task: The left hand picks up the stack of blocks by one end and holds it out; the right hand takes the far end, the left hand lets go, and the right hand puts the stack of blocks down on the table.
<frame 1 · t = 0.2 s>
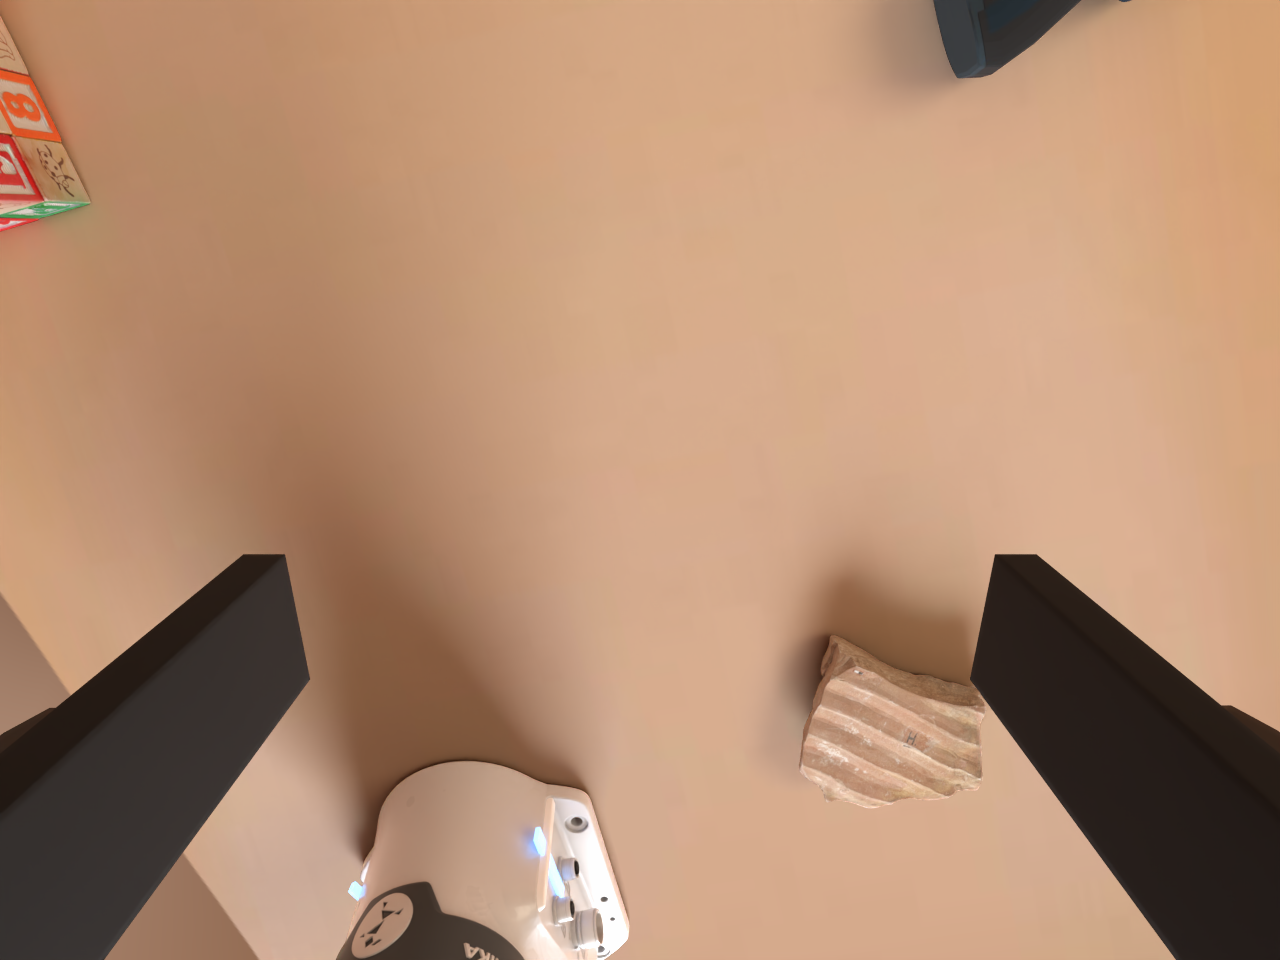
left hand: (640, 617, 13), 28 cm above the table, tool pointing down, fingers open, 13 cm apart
stone: (882, 707, 47), on the table
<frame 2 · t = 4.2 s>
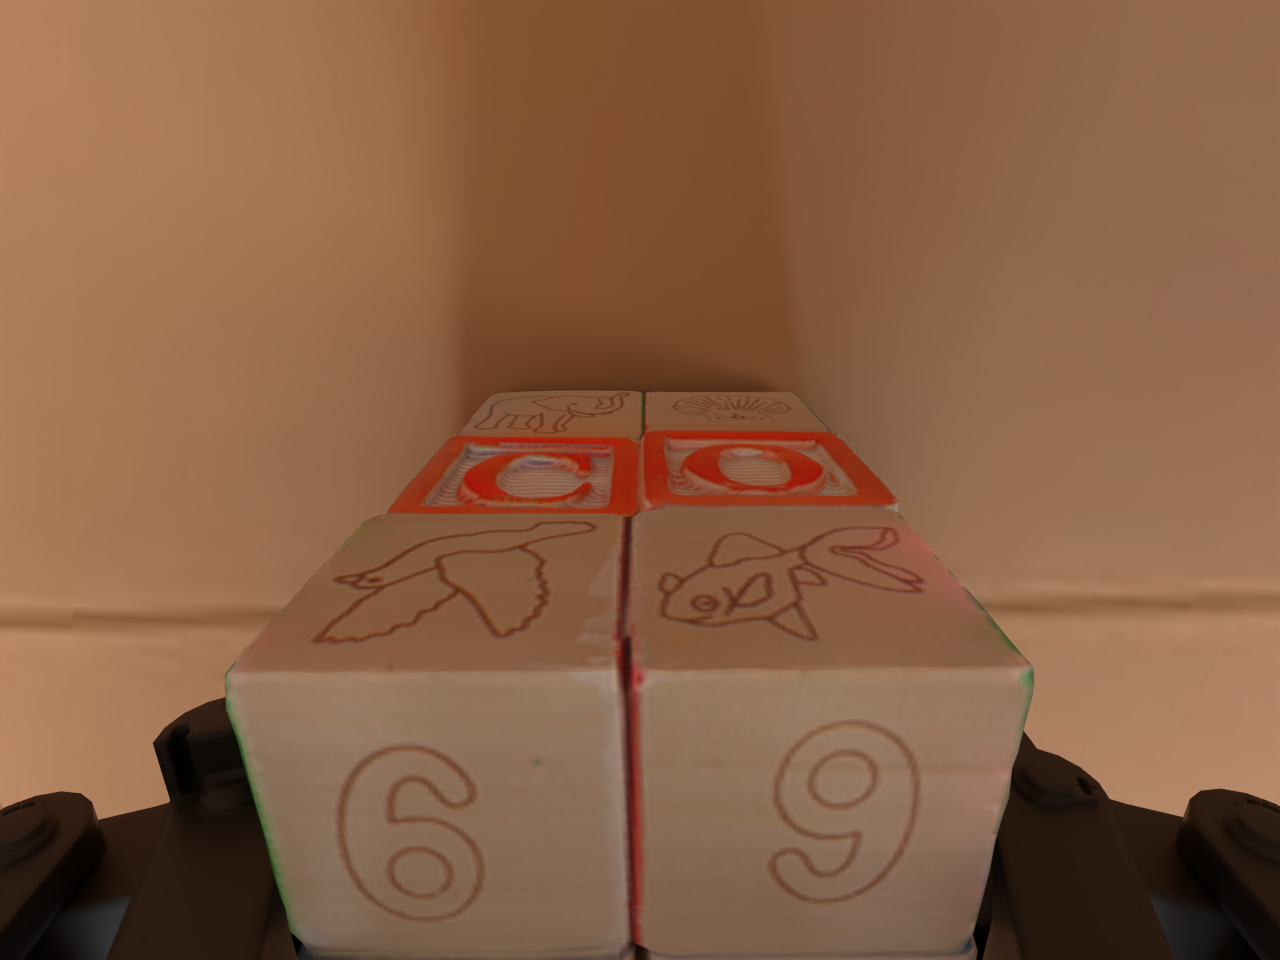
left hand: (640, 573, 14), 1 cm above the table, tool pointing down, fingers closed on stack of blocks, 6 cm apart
stack of blocks: (639, 798, 17), on the table, touching left hand
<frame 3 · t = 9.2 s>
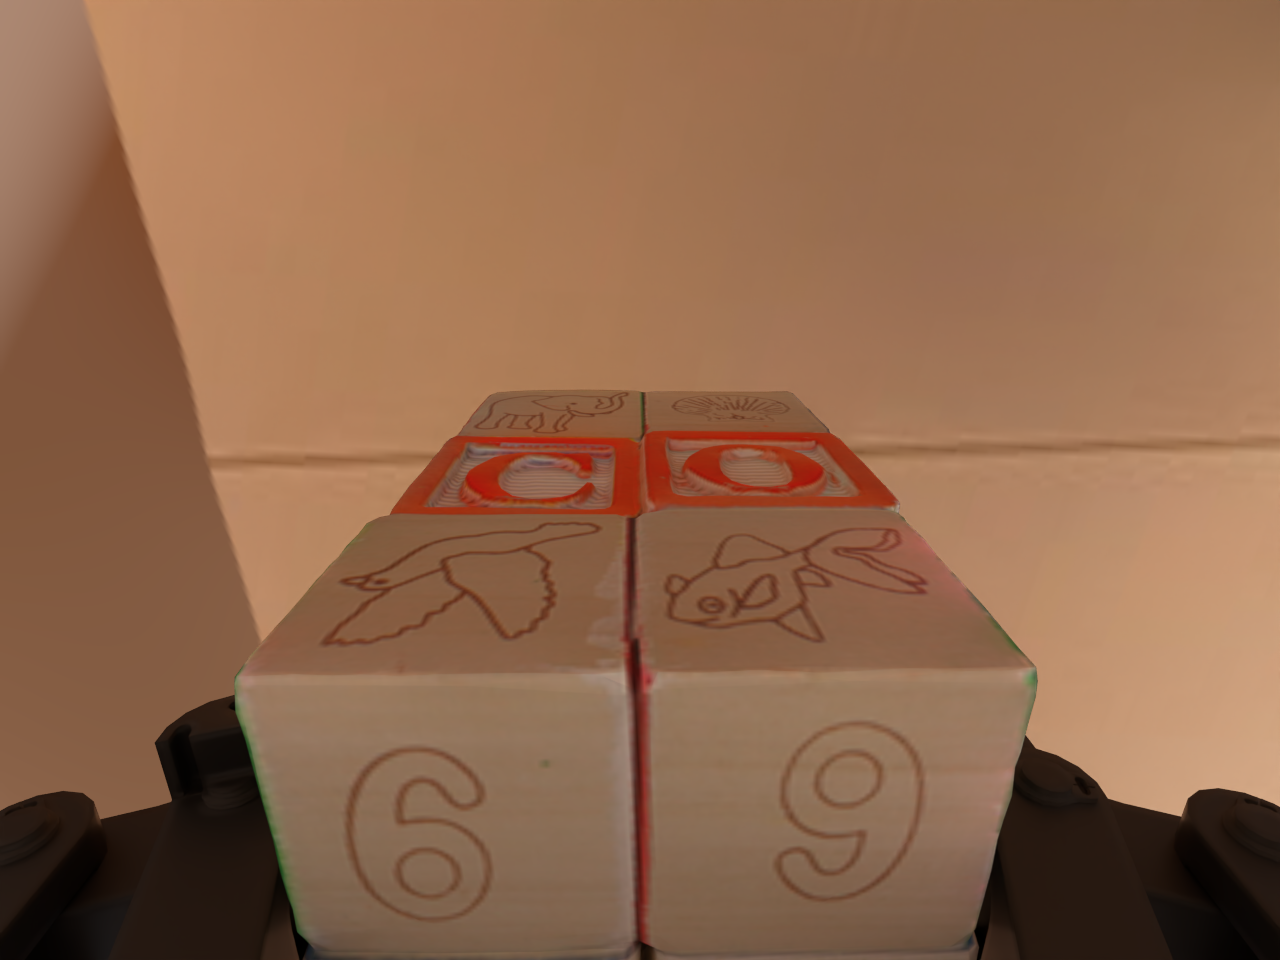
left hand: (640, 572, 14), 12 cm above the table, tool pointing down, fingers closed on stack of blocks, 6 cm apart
stack of blocks: (636, 796, 17), point 12 cm above the table, touching left hand, right hand
when the left hand's fingers open (12 cm above the table, at t = 10.1 s): stack of blocks stays where it is, held by the right hand.
when the right hand's fingers open (9 cm above the table, at t = 16.6 s): stack of blocks stays where it is, on the table.
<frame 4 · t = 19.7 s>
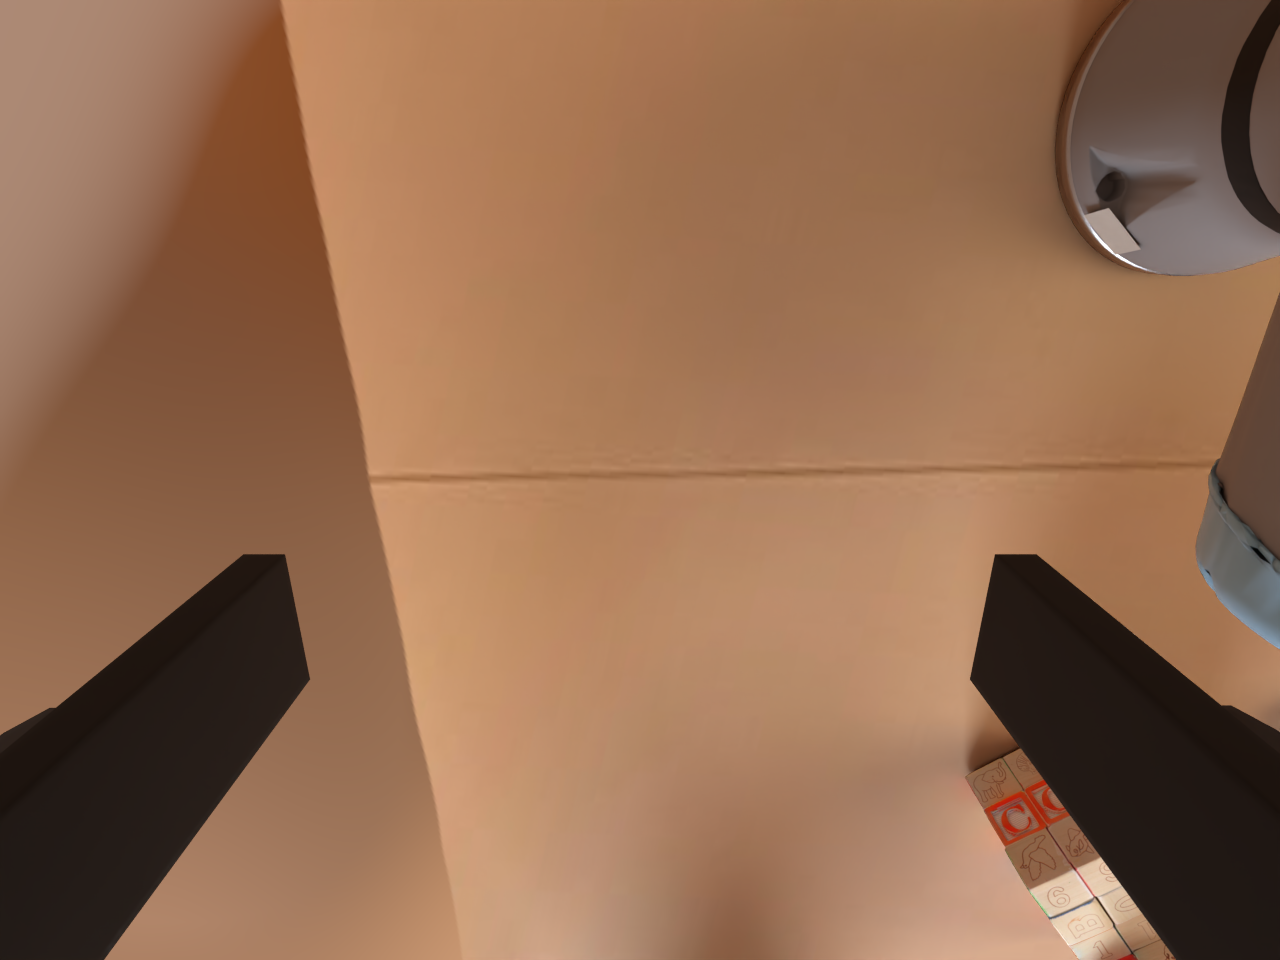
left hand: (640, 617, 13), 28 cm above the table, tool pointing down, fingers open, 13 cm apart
stack of blocks: (1059, 844, 52), on the table
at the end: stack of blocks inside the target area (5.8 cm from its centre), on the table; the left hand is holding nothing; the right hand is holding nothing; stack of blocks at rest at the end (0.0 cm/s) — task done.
